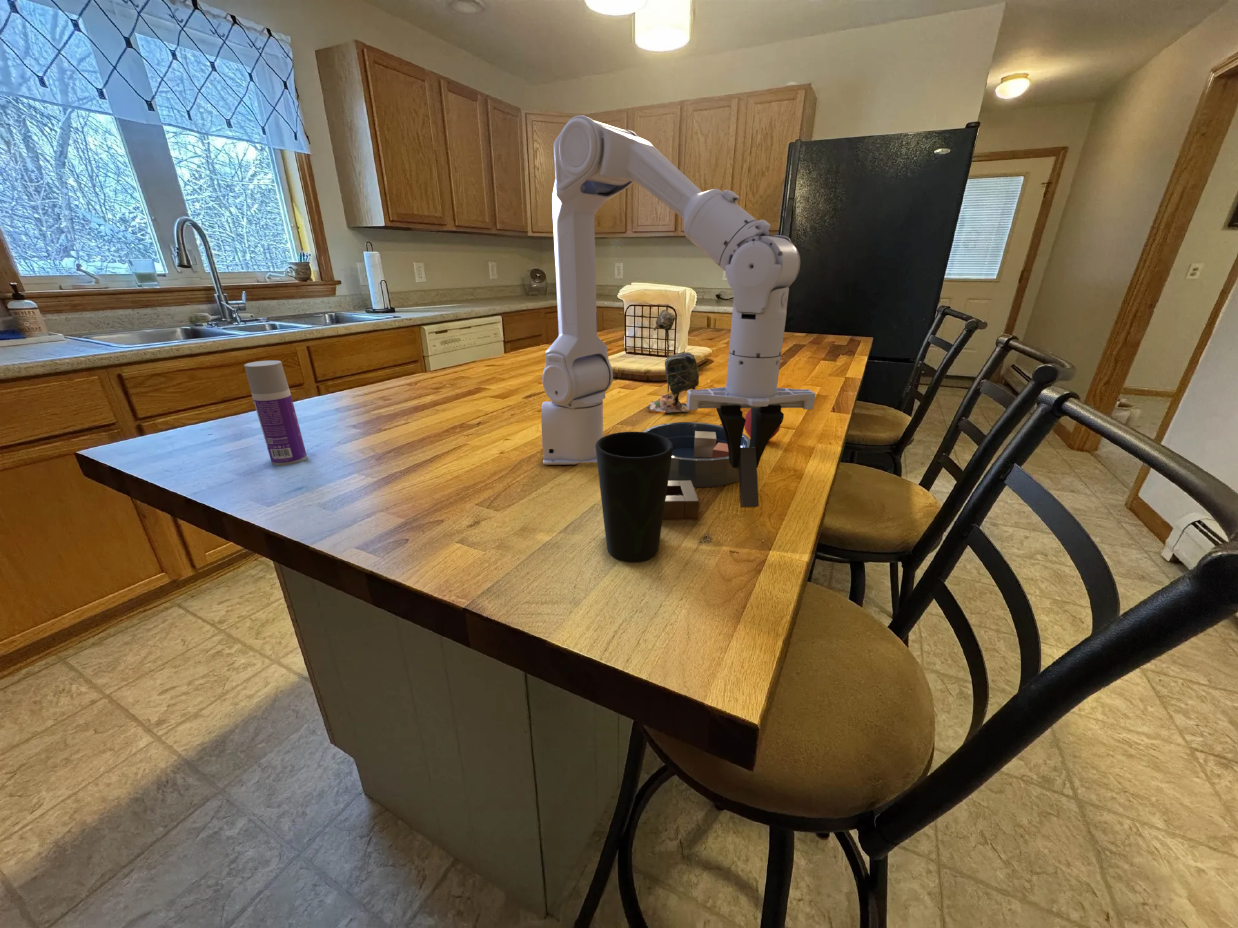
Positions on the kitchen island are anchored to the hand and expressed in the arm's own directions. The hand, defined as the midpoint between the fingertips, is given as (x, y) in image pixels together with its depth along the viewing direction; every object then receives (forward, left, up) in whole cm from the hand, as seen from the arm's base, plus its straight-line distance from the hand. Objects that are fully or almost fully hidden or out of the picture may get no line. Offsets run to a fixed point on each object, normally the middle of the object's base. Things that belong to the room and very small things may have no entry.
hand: (743, 464), depth 61 cm
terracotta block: (0, +10, -5) cm, 11 cm away
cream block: (-2, +16, -5) cm, 17 cm away
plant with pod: (-3, +42, -6) cm, 42 cm away
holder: (-9, -2, -6) cm, 11 cm away
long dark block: (0, -4, -4) cm, 6 cm away
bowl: (-4, +12, -6) cm, 14 cm away
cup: (-14, -10, -6) cm, 18 cm away
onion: (+9, +22, -6) cm, 24 cm away
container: (-66, +16, -6) cm, 68 cm away
